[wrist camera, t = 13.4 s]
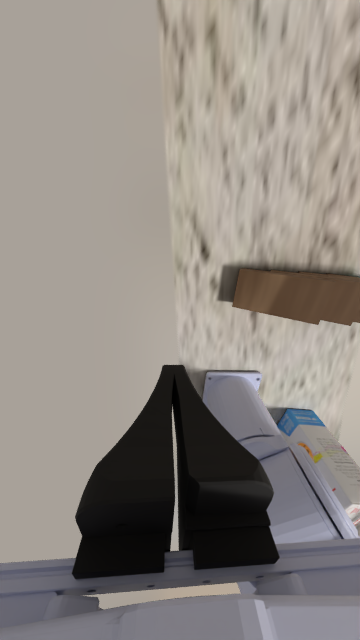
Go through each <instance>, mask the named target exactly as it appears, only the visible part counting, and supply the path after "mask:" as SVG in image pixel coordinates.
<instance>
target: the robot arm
mask: <svg viewBox="0 0 360 640" xmlns="http://www.w3.org/2000/svg"><path fill="white" fill-rule="evenodd" d="M261 378H262V374H261V373H260V372H207V373H206V378H205V385H204V392H203V399H201V398H200V396H199V395H198V393H197V391H196V390H195V388H194V386H193V384H192V383H191V381H190V379H189V377H188V375H187V372H186V370H185V367H184V366H183V365H164V366H163V367H162V371H161V374H160V377H159V380H158V382H157V385H156V387H155V389H154V391H153V393H152V394H151V396H150V398H149V400H148V402H147V404H146V405H145V407H144V408H143V410H142V411H141V413H140V415H139V416H138V417H137V419H136V420H135V421H134V423H133V424H132V426H131V427H130V428H129V429H128V431H127V432H126V433H125V434H124V435H123V437H122V438H121V439H120V440H119V441H118V443H117V444H116V445H115V446H114V447H113V448H112V449H111V450H110V451H109V452H108V454H107V455H106V456H105V457H104V458H103V459H102V460H101V461H100V462H99V463H98V464H97V465H96V467H95V469H94V471H93V473H92V475H91V477H90V479H89V481H88V483H87V485H86V488H85V490H84V492H83V495H82V498H81V501H80V504H79V507H78V510H77V513H76V516H75V518H76V522H77V525H78V527H79V529H80V532H81V534H82V540H81V543H80V546H79V550H78V553H77V557H76V558H68V559H54V560H40V561H26V562H11V563H0V640H360V537H359V536H358V531H357V529H356V527H355V526H354V524H353V522H352V521H351V519H350V518H349V516H348V514H347V513H346V511H345V510H344V508H343V507H342V505H341V503H340V502H339V500H338V499H337V497H336V496H335V494H334V493H333V491H332V489H331V488H330V486H329V485H328V483H327V482H326V480H325V478H324V477H323V475H322V474H321V472H320V471H319V469H318V468H317V466H316V465H315V463H314V461H313V460H312V458H311V457H310V455H309V454H308V452H307V451H306V449H305V448H304V447H302V446H300V445H297V444H296V443H292V444H290V446H289V445H288V444H287V442H286V441H285V439H284V438H283V436H282V434H281V433H280V431H279V429H278V427H277V426H276V424H275V422H274V420H273V419H272V417H271V415H270V413H269V412H268V410H267V408H266V406H265V404H264V403H263V401H262V399H261V397H260V396H259V394H258V392H257V391H258V388H259V385H260V382H261ZM172 404H173V413H174V422H175V432H176V442H177V473H178V529H179V551H170V545H171V533H172V528H173V516H174V505H175V482H174V481H175V478H174V459H173V437H172ZM290 447H291V448H290ZM235 582H237V584H238V586H239V589H240V592H241V594H228V595H212V596H196V597H185V598H175V599H167V600H159V601H151V602H146V603H139V604H132V605H127V606H121V607H116V608H111V609H105V610H103V609H101V608H99V600H98V598H97V597H87V596H83V595H94V594H106V593H118V592H130V591H141V590H153V589H165V588H177V587H188V586H199V585H212V584H224V583H235Z"/></svg>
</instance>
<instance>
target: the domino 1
mask: <svg viewBox="0 0 360 640" xmlns="http://www.w3.org/2000/svg"><path fill="white" fill-rule="evenodd" d="M335 285H336V282H335V281H334V280H332V279H325V278H317V277H309V276H301V275H293V274H285V273H278V272H270V271H262V270H254V269H246V268H241V269H240V271H239V276H238V280H237V285H236V290H235V295H234V300H233V305H232V307H236V308H241V309H246V310H250V311H255V312H260V313H265V314H269V315H274V316H279V317H283V318H288V319H293V320H298V321H302V322H307V323H312V324H317V325H318V324H319V322H320V319H321V317H322V315H323V312H324V310H325V308H326V305H327V303H328V301H329V299H330V296H331V294H332V292H333V289H334V287H335Z"/></svg>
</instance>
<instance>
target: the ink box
mask: <svg viewBox="0 0 360 640" xmlns="http://www.w3.org/2000/svg"><path fill="white" fill-rule="evenodd" d="M277 427H278V429H279V431H280V433H281V434H282V436H283V438H284V439H285V441H286V442H287V444H288V445H289V446H290V444H292V443H296V444H297V445H300V446H302V447H304V448H305V449H306V451H307V452H308V454H309V455H310V457H311V458H312V460H313V461H314V463H315V465H316V466H317V468H318V469H319V471H320V472H321V474H322V475H323V477H324V478H325V480H326V482H327V483H328V485H329V486H330V488H331V489H332V491H333V493H334V494H335V496H336V497H337V499H338V500H339V502H340V503H341V505H342V507H343V508H344V510H345V511H346V513H347V514H348V516H349V518H350V519H351V521H352V522H353V524H354V526H355V527H356V529H357V531H358V536H359V537H360V468H359V466H358V465H357V464H356V463H355V461H354V460H353V459H352V458H351V457H350V455H349V454H348V453H347V452H346V450H345V449H344V448H343V447H342V446H341V444H340V443H339V442H338V441H337V439H336V438H335V437H334V436H333V435H332V433H331V432H330V431H329V430H328V429H327V427H326V426H325V425H324V424H323V422H322V421H321V420H320V419H319V418H318V416H317V415H316V414H315V413H314V412H313V411H311V410H297V409H287V410H286V412H285V414H284V415H283V417H282V418H281V420H280V421H279V423H278V425H277ZM290 448H291V447H290Z"/></svg>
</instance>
